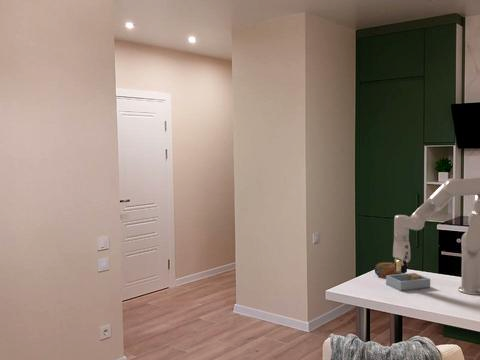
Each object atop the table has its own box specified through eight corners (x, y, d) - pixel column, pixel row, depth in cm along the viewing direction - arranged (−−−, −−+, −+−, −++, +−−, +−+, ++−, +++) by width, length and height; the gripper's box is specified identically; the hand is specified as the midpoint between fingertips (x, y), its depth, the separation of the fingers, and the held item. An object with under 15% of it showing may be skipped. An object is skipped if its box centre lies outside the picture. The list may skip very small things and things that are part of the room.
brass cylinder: (407, 273, 263) (407, 260, 262) (399, 274, 261) (399, 261, 261) (402, 271, 267) (402, 258, 267) (394, 271, 266) (394, 259, 266)
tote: (430, 288, 261) (430, 278, 261) (400, 291, 257) (400, 281, 256) (414, 281, 275) (414, 272, 275) (386, 284, 270) (386, 275, 270)
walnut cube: (421, 284, 265) (421, 275, 265) (413, 285, 264) (413, 276, 263) (415, 282, 270) (415, 273, 270) (407, 283, 269) (407, 274, 268)
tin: (374, 276, 287) (374, 262, 287) (374, 275, 290) (374, 261, 290) (401, 278, 283) (401, 264, 282) (401, 277, 286) (401, 262, 285)
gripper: (417, 240, 256) (416, 274, 257) (398, 235, 272) (397, 267, 274) (404, 241, 254) (404, 275, 255) (386, 235, 270) (386, 268, 272)
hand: (400, 270), depth 264 cm, fingers closed on brass cylinder, 5 cm apart
